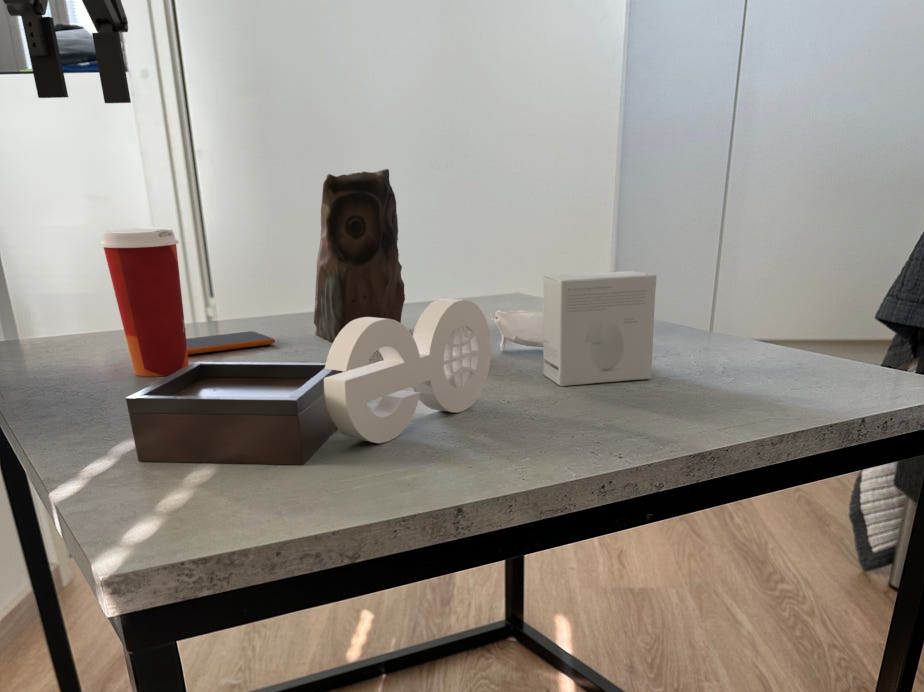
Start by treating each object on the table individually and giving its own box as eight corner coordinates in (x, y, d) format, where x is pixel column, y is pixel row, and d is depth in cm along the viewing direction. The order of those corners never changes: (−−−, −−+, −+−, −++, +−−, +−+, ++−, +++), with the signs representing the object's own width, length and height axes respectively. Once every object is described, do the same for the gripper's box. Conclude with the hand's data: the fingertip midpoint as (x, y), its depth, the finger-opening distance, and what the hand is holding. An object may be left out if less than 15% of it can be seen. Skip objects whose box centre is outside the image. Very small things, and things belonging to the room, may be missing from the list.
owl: (405, 328, 129) (396, 168, 120) (420, 344, 118) (412, 170, 109) (314, 333, 127) (298, 170, 117) (321, 350, 116) (304, 172, 106)
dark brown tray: (137, 461, 76) (125, 398, 73) (203, 417, 88) (194, 361, 85) (303, 465, 74) (296, 400, 72) (346, 419, 86) (341, 362, 84)
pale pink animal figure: (504, 368, 111) (585, 345, 110) (489, 310, 109) (572, 286, 108) (503, 368, 116) (581, 345, 115) (489, 312, 114) (568, 289, 113)
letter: (472, 396, 93) (470, 291, 88) (491, 399, 92) (490, 293, 87) (330, 452, 77) (318, 327, 72) (350, 456, 76) (339, 329, 71)
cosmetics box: (629, 367, 104) (635, 268, 99) (652, 380, 99) (659, 275, 94) (540, 374, 102) (542, 272, 97) (559, 387, 96) (561, 280, 91)
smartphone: (276, 344, 120) (276, 337, 119) (148, 361, 111) (147, 354, 111) (253, 336, 125) (252, 329, 125) (129, 351, 117) (128, 344, 116)
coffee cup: (212, 365, 109) (192, 227, 102) (170, 380, 102) (145, 233, 95) (153, 361, 111) (129, 226, 104) (108, 376, 105) (79, 232, 98)
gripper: (-2, -211, 75) (59, 93, 85) (135, -131, 96) (171, 104, 106) (-88, -205, 75) (-17, 95, 85) (68, -127, 97) (109, 105, 107)
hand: (87, 101), depth 96 cm, fingers open, 13 cm apart
